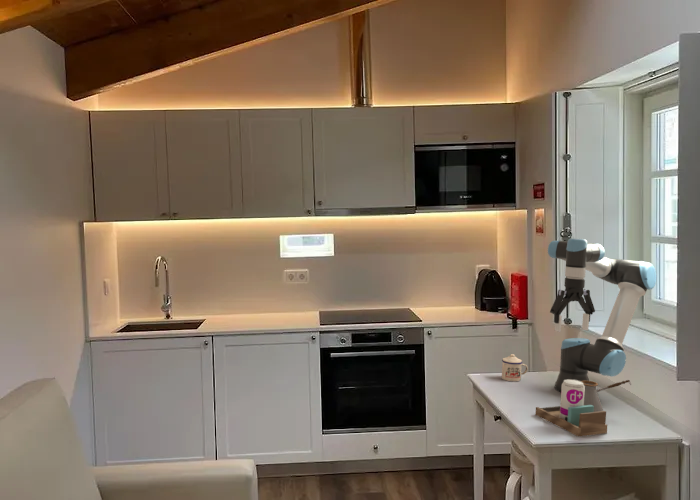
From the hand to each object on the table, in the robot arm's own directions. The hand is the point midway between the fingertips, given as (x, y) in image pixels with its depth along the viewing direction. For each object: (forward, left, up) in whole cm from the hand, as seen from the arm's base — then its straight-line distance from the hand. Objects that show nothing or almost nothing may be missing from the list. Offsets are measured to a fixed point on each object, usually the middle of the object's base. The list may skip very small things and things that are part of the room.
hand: (571, 330), depth 258 cm
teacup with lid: (-5, -42, -32) cm, 53 cm away
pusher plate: (+11, +20, -31) cm, 38 cm away
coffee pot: (-7, +11, -32) cm, 34 cm away
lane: (+11, +15, -32) cm, 37 cm away
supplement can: (+11, +15, -31) cm, 36 cm away
